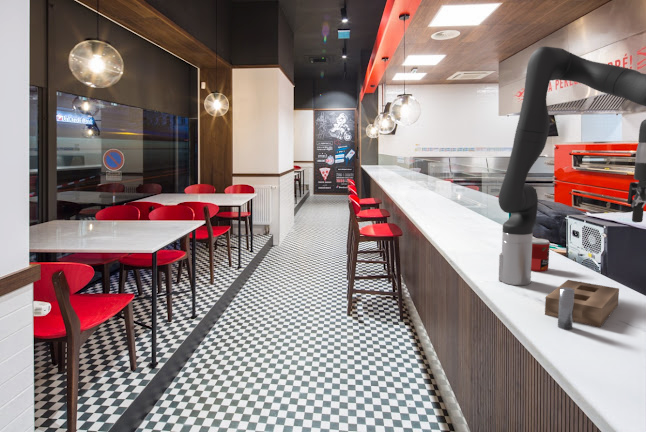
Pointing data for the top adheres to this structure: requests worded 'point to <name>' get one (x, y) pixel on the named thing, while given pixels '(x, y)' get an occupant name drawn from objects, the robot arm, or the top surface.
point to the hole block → (586, 302)
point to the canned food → (540, 255)
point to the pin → (566, 308)
